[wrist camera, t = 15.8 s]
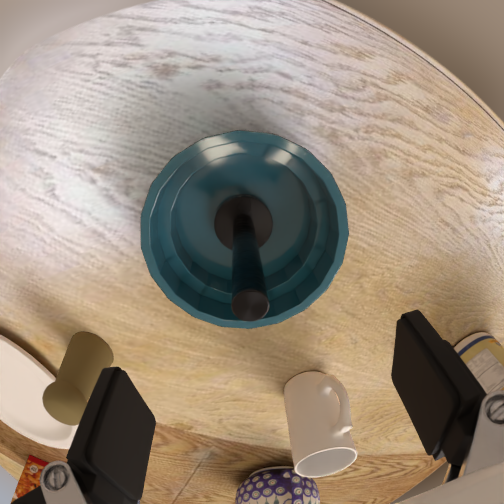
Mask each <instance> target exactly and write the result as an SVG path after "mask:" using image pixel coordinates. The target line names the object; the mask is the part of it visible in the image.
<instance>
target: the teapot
mask: <svg viewBox="0 0 504 504" xmlns="http://www.w3.org/2000/svg"><path fill="white" fill-rule="evenodd" d="M236 504H320V496H319V491H318V488H317V485H316V483H315V482H314V480H313V479H312V478H311V477H303V476H300V475H298V474H297V473H296V472H295V470H294V467H289V466H275V467H268V468H263V469H260V470H257V471H255V472H253V473H252V474H251V475H250V476H249V478H247V479H245V480H244V481H243V482H242V483H241V484H240V486H239V487H238V490H237V493H236Z"/></svg>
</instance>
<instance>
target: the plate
mask: <svg viewBox="0 0 504 504" xmlns="http://www.w3.org/2000/svg"><path fill="white" fill-rule="evenodd" d="M55 380H56V378H55V377H54V376H53V375H52V374H51V373H50V372H49V371H48V370H47V369H46V368H45V367H44V366H43V365H42V364H40V363H39V362H38V361H37V360H36V359H35V358H34V357H32V356H31V355H30V354H28V353H27V352H26V351H25V350H23V349H22V348H21V347H19V346H18V345H16V344H15V343H13V342H12V341H11V340H9V339H7V338H6V337H4V336H2V335H0V420H2V421H3V422H4V423H5V424H7V425H8V426H9V427H11V428H12V429H14V430H15V431H17V432H18V433H20V434H22V435H24V436H25V437H27V438H29V439H31V440H33V441H36V442H38V443H41V444H43V445H46V446H50V447H54V448H60V449H70V446H71V443H72V441H73V438H74V435H75V433H76V430H77V428H78V425H79V424H78V425H75V426H70V425H66V424H63V423H61V422H59V421H57V420H55V419H54V418H53V417H52V416H50V414H49V413H48V412H47V411H46V410H45V408H44V406H43V400H42V397H43V393H44V390H45V389H46V387H47V386H48V385H49V384H51V383H52V382H55Z"/></svg>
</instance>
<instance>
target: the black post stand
mask: <svg viewBox="0 0 504 504" xmlns="http://www.w3.org/2000/svg"><path fill="white" fill-rule="evenodd" d="M214 229H215V233H216V236H217V238H218V239H219V241H220V242H221V243H222V244H223V245H224V246H225V247H227V248H228V249H230V250H232V302H231V306H232V311H233V313H234V314H235V316H236V317H238V318H239V319H241V320H243V321H248V322H252V321H257V320H259V319H261V318H263V317H264V316H265V315H266V313H267V312H268V310H269V299H268V294H267V288H266V283H265V278H264V273H263V267H262V262H261V257H260V252H259V248H260V247H261V246H263V245H264V244H265V243H266V242H267V241H268V239H269V237H270V235H271V233H272V229H273V219H272V216H271V213H270V211H269V209H268V207H267V205H266V204H265V203H264V202H263V201H262V200H261V199H259V198H258V197H256V196H253V195H249V194H237V195H234V196H231V197H229V198H228V199H226V200H225V201H224V202H223V203H222V204H221V205H220V206H219V208H218V210H217V212H216V216H215V220H214Z"/></svg>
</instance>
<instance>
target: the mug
mask: <svg viewBox="0 0 504 504" xmlns="http://www.w3.org/2000/svg"><path fill="white" fill-rule="evenodd" d="M335 392H336V393H335ZM336 394H337V396H338V398H339V401H338V398H337V396H336ZM284 399H285V408H286V415H287V422H288V429H289V436H290V443H291V450H292V457H293V462H294V470H295V472H296V473H297V474H298V475H300V476H303V477H322V476H327V475H331V474H334V473H336V472H339V471H341V470H343V469H345V468H347V467H348V466H350V465H351V464H352V463H353V462H354V461H355V460H356V458H357V451H356V449H355V445H354V442H353V439H352V436H351V434H350V431H349V430H350V429H351V428H352V427H353V426H352V423H351V410H350V402H349V398H348V394H347V392H346V389H345V388H344V386H343V384H342V383H341V382H340V381H339V380H338V379H337V378H336V377H335V376H334V375H325V374H324V373H321V372H316V371H309V372H304V373H301V374H298V375H296V376H294V377H293V378H291V379H290V380H289V381H288V382H287V383H286V385H285V387H284ZM339 402H340V404H339Z"/></svg>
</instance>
